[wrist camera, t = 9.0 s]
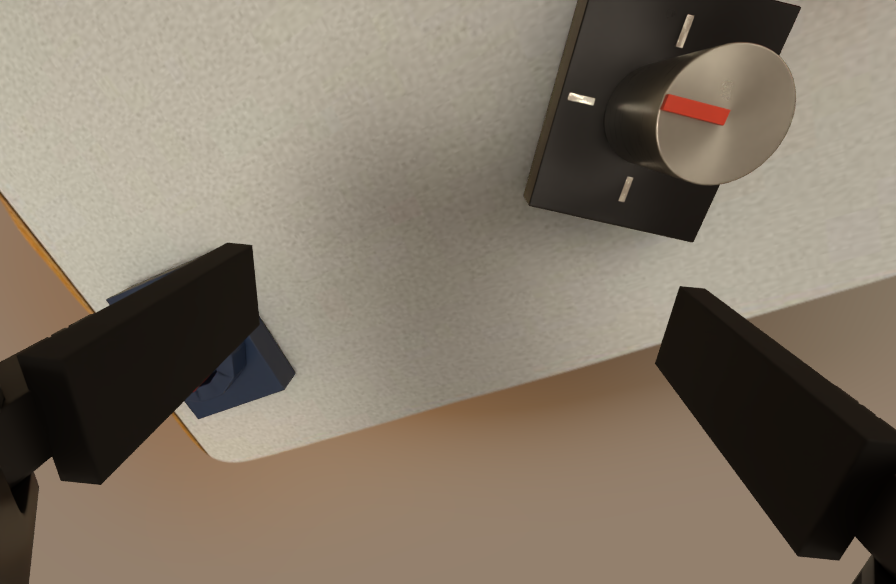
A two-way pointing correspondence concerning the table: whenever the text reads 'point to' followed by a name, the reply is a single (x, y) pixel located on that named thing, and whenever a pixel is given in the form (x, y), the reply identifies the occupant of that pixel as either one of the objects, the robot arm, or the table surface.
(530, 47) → the table surface
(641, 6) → the hob panel
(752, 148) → the hob knob
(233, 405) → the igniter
